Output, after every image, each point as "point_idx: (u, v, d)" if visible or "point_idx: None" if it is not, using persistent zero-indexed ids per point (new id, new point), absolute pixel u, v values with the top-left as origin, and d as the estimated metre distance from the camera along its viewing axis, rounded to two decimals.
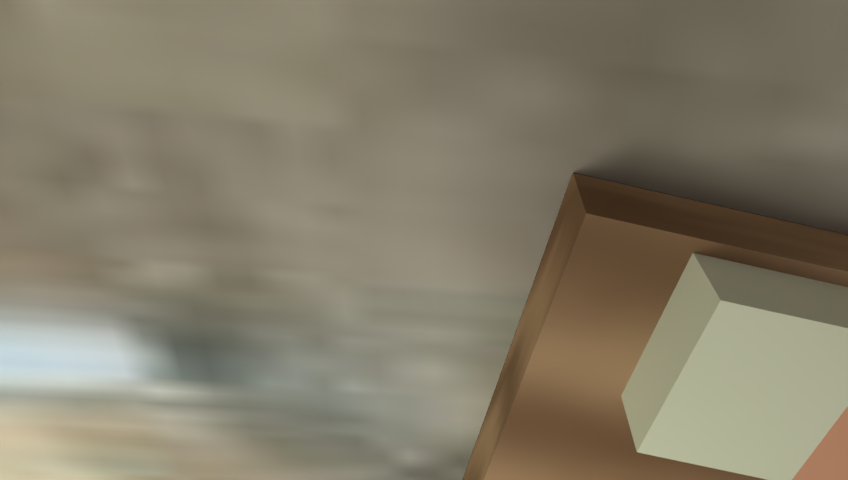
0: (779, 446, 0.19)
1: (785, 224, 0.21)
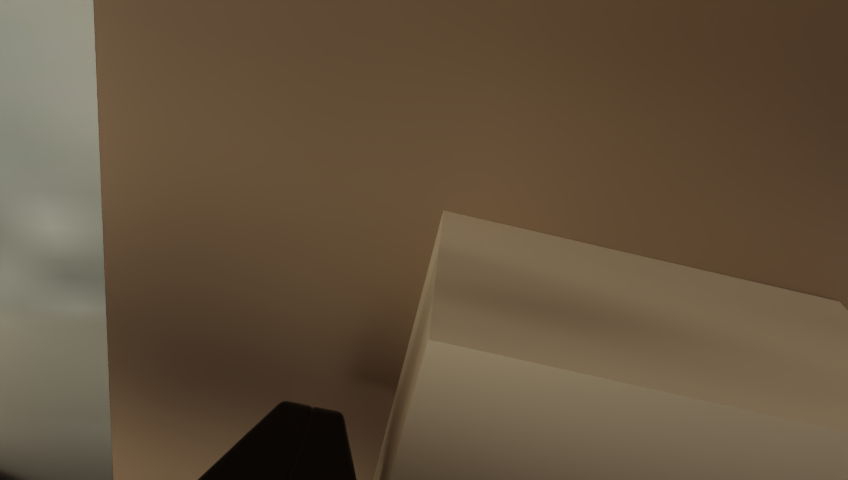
0: None
1: None
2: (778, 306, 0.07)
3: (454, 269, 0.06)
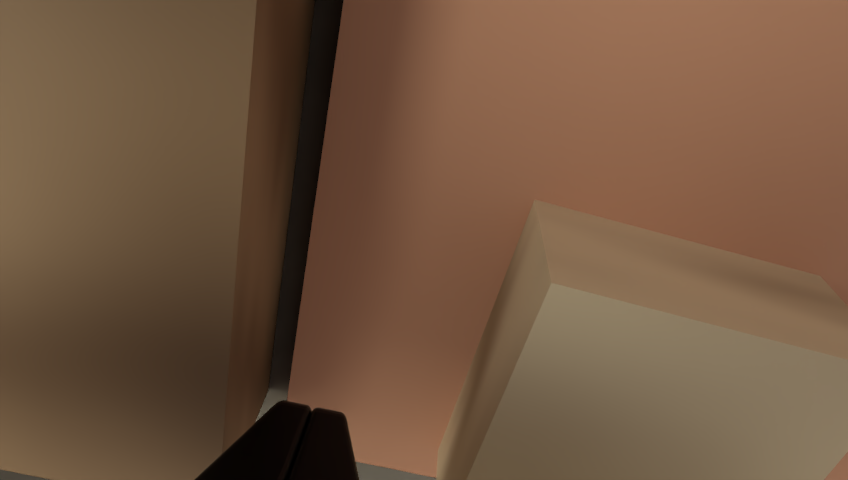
0: None
1: None
2: (618, 280, 0.08)
3: None
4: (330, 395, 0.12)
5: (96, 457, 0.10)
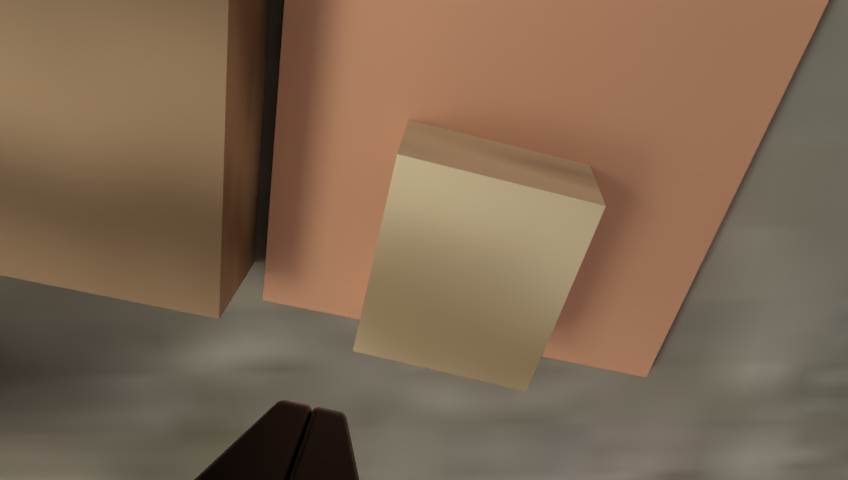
0: None
1: None
2: (441, 156, 0.15)
3: (590, 181, 0.16)
4: (293, 260, 0.19)
5: (145, 281, 0.17)
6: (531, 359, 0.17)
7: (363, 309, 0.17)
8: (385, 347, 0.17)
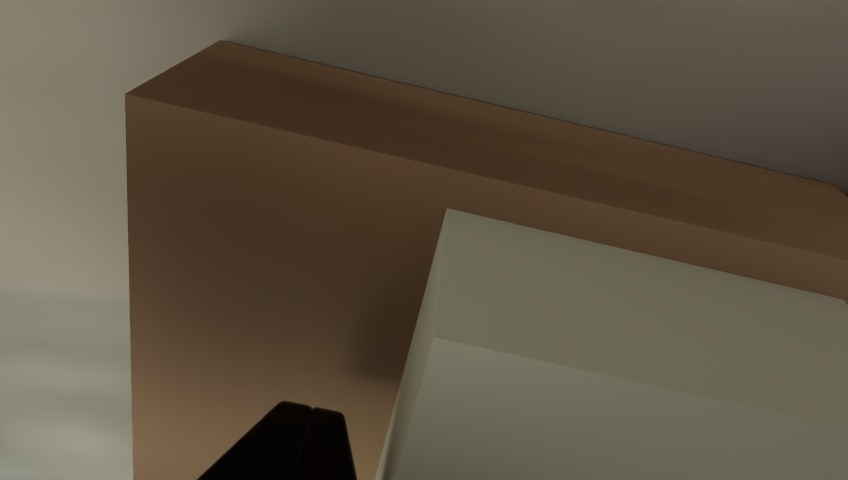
0: None
1: (681, 154, 0.10)
2: None
3: None
4: None
5: None
6: None
7: None
8: None
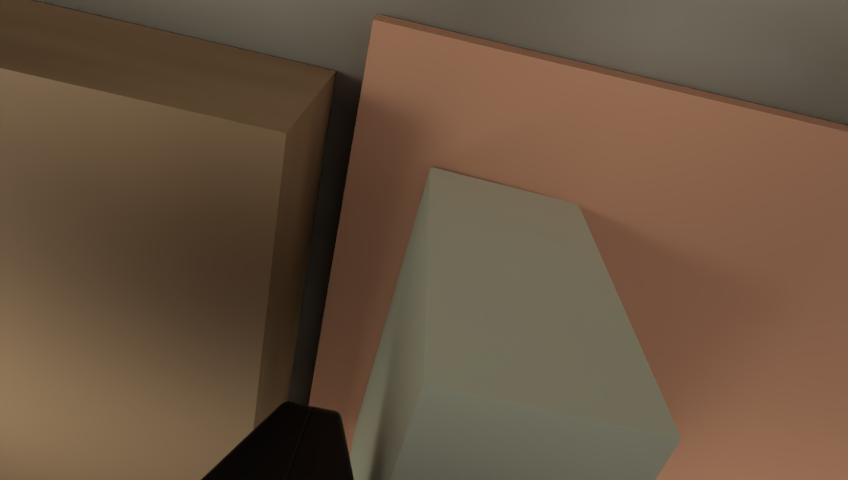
0: None
1: (164, 36, 0.10)
2: None
3: None
4: None
5: None
6: None
7: None
8: None
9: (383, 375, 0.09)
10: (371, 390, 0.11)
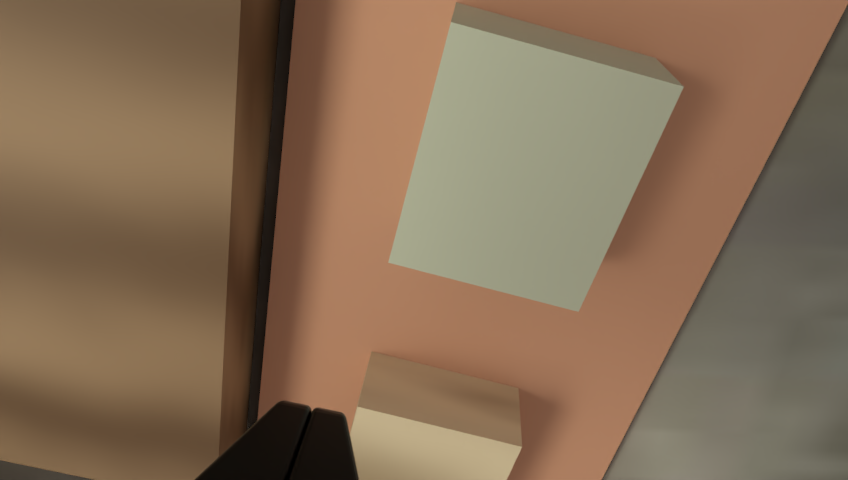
0: None
1: None
2: (393, 402, 0.19)
3: (514, 413, 0.20)
4: None
5: (156, 477, 0.21)
6: None
7: None
8: None
9: (508, 163, 0.14)
10: (450, 201, 0.15)
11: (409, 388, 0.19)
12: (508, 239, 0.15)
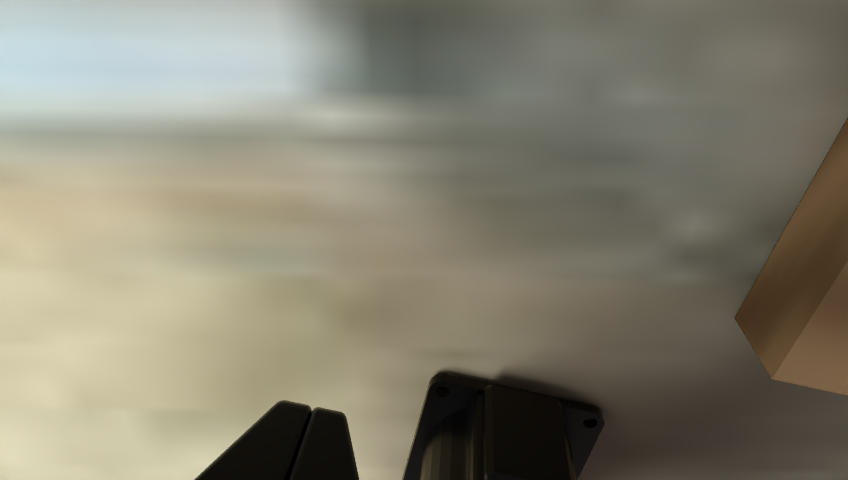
0: None
1: None
2: None
3: None
4: None
5: None
6: None
7: None
8: None
9: None
10: None
11: None
12: None
